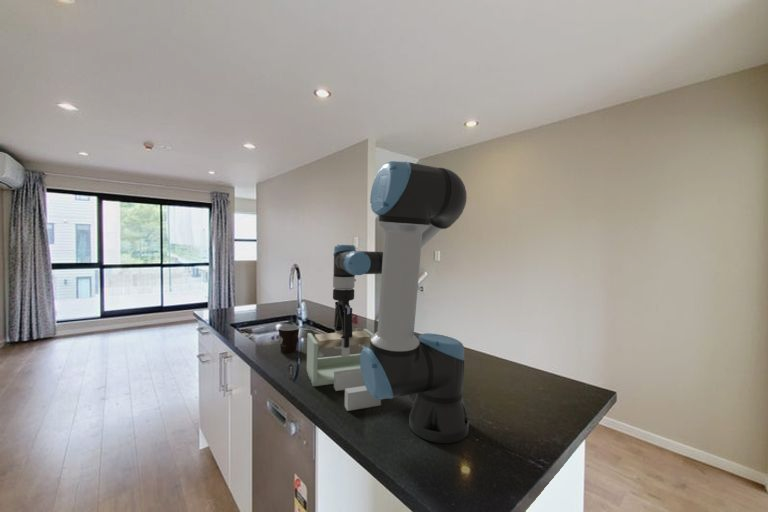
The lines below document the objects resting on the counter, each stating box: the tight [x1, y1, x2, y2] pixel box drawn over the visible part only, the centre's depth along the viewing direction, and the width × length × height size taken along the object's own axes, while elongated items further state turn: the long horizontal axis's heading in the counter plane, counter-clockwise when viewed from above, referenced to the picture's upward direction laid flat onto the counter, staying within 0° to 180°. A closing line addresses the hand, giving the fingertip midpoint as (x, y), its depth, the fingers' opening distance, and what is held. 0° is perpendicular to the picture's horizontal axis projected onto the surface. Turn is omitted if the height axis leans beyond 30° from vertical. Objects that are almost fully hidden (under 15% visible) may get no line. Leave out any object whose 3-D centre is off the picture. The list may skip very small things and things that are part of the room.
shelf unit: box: [306, 328, 374, 387], centre depth 114 cm, size 13×22×14 cm, turn 113°
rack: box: [333, 368, 382, 412], centre depth 98 cm, size 16×10×5 cm, turn 23°
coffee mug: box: [278, 324, 300, 354], centre depth 136 cm, size 12×9×10 cm
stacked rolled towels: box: [314, 330, 370, 349], centre depth 113 cm, size 18×8×2 cm, turn 113°
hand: (342, 352), depth 114 cm, fingers closed on stacked rolled towels, 8 cm apart
